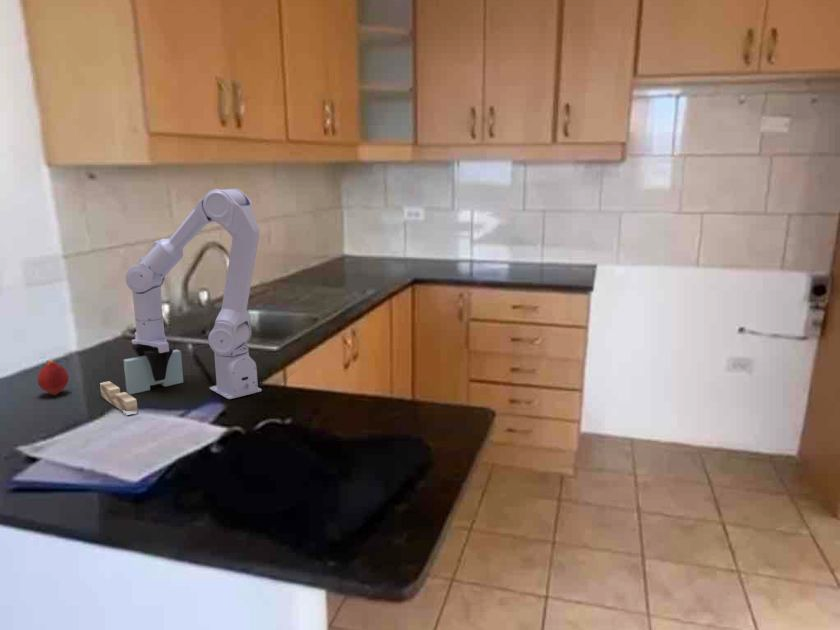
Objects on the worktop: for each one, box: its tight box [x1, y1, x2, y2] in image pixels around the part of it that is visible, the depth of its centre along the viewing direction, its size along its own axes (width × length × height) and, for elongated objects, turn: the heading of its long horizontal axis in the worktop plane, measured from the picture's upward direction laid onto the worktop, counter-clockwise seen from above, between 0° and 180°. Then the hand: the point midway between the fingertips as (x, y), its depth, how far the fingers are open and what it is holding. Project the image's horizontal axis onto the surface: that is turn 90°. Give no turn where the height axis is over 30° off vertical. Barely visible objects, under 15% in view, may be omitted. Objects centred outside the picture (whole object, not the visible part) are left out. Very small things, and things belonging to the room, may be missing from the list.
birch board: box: [99, 380, 139, 411], centre depth 134 cm, size 16×2×3 cm, turn 43°
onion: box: [37, 359, 70, 396], centre depth 139 cm, size 6×6×8 cm
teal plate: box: [123, 349, 184, 395], centre depth 144 cm, size 2×12×8 cm, turn 133°
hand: (154, 377), depth 145 cm, fingers open, 5 cm apart
